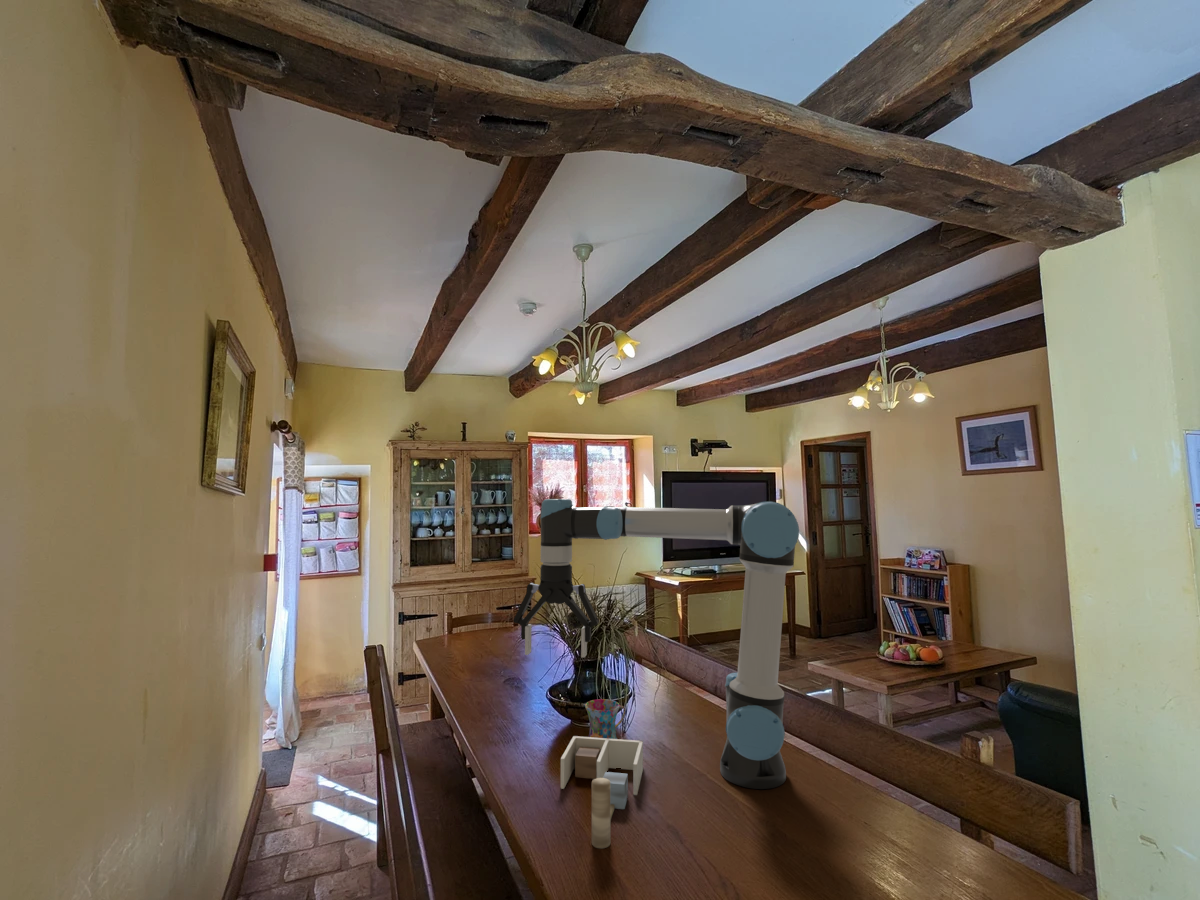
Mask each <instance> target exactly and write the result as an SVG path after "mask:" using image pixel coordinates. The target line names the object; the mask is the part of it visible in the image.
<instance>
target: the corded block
mask: <svg viewBox="0 0 1200 900" xmlns="http://www.w3.org/2000/svg"><path fill="white" fill-rule="evenodd" d="M628 779H629V775H628V773H621V772H612V771H608V772H605V774H604V776H603V778H596V779H592V781H591V845H592V846H593V847H594V848H595V849H605V848H606V849H607V848H608V847H610V846H611V838H612V837H611V833H612V832H611V821H612V817H613V814H614V811H615V809H618V810H625V809H626V806H627V802H628V799H627V798H629V792H628V791H629V780H628Z"/></svg>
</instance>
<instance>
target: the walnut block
mask: <svg viewBox="0 0 1200 900" xmlns="http://www.w3.org/2000/svg"><path fill="white" fill-rule="evenodd" d="M599 754H600V748H591V747H580V748H579V750H578V751H577V753H576V755H575V768H574V770H575V771H574V774H575V775H574V777H575V778H582V779H592V780H594V779H596V778H597V759H598V757H599Z"/></svg>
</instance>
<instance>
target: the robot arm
mask: <svg viewBox="0 0 1200 900" xmlns="http://www.w3.org/2000/svg"><path fill="white" fill-rule="evenodd" d="M540 509H541V510H540V517H539V519H540V562H541V563H542V564H541V565H540V576H539V577H540V582H539V584H537V583H536V584H535V583H534V582H530V583H528V584H527V586H526V592H525V593H526V594H525V595H524V597H523V600H521V603H520V605H519V608H518V610H516V611H517V612H516V614H515V616H514V618H513V622H514V623H515V624H519V625H520V629H521V630H520V634H521V635H520V638H521V640H524V656H529V655H530V654H531V653H532V623H530V622H531V620H532V619H534V617H535V615H536V614H537V613H538V611H540V609H541V608H542V607H543V606H544V604H546V602H547V603H548V604H550V605H551V604H558V605H559V604H560V605H562V604H565V605H566V606H567V607H569V610H570V611H571V612H572V613H573V614H574V615H575V617H576V618H577V620H579V622H580V623H581V624H582V628H581V630H580V633H581V634H580V638H581V639H580V640H581V643H580V645H581V647H580V648H581V650H580V654H581V655H580V657H581V658H586V656H587V654H588V653H587V652H588V643H590V642H591V640H592V627H595V626H598V624H599V622H600V621H599V618H598V616H597V614H596V612H595V609H594V607H593V606H592V603H591V601H590V599H589V596H588V595H587V592H586V591H587V590H586V584H584V583H581V584H578V585H576V584H575V585H574V584H573V565H572V564H570V563H572V561H573V539H575V540H576V539H587V540H588V539H589V540H605V541H607V540H612V539H613V540H618V539H619V538H621V537H632V538H657V539H658V538H660V539H661V538H662V539H663V538H664V539H683V540H685V539H689V540H707V541H708V540H715V541H727V542H728V543H729V544H730V545H739V547H740V548H739V561H740V563H741V564H742V565H743V566H744V568H745V571H744V572H745V575H744V584H743V585H744V586H743V597H742V611H741V624H740V635H739V636H740V638H739V647H738V648H739V649H738V661H737V672H731V673H729V674H727V675H726V677H725V684H724V687H725V701H726V703H725V704H726V706H725V707H726V710H725V711H726V721H725V722H726V724H725V733H726V741H725V744H724V746H723V750H722V753H721V757H720V762H719V771H720V774H721V776H722V777H723V778H724V779H725V780H726V781H728V782H730V783H732V784H733V785H737V786H739V787H743V788H747V789H754V790H767V789H768V790H769V789H774V788H778V787H780V786H781V785H783V784H784V783H785V781H786V779H787V771H786V765H785V763H784V760H783V756H782V753H781V748H782V747H783V745H784V742H785V741H784V740H785V737H786V736H785V735H786V734H785V727H784V724H783V723H784V722H783V719H784V705H785V691H784V690H783V689H782V687H781V686H780V685H779V684H778V683H779V671H780V669H779V668H780V656H781V644H782V643H781V642H782V629H783V618H784V617H783V616H784V602H785V588H786V574H787V573H788V572H789V571H790V570H791V569H793V568H794V562H795V551H796V545H797V543H798V540H799V538H800V537H799V536H800V527H799V522H798V520H797V517H796V516H795V514H794V513H793V512H792V511H791V510H790V509H789V508H788V507H787V506H785V505H784V504H782V503H779V502H775V501H771V500H770V501H760V502H756V503H754V504H753V503H752V504H745V505H733V504H732V505H729V507H728V508H724V509H723V508H722V509H719V508H715V509H714V508H682V507H681V508H680V507H679V508H678V507H675V508H674V507H641V506H640V507H639V506H638V507H637V506H636V507H635V506H633V507H631V506H628V507H626V506H625V507H624V506H611V505H607V506H589V507H588V506H587V507H586V506H585V507H584V506H583V507H580V506H578V507H577V506H574V505H573V501H572V499H570V498H546V499H544V500H543V501H541V508H540ZM537 591H539V593H540V594H541V597H540V598H539V600H537V602H536V603H535V605H534V606H533V607H532V608H531V609H530V611H529V612H528V613H527V614H526V615H525V613H526V611H527V608H528V606H529V605H530V602H531V601H532V599H533V596H534V594H536V593H537ZM573 592H575V593H576V595H578V597H579V599H580V601H581V603H582V605H583V607H584V610H585V612H586V614H587V615H585V613H584V611H583V610H582V609H581V607H580V606H579V605H578V604H577V603H576V601H575V600H574V598H573V597H572V594H573ZM524 615H525V616H524Z"/></svg>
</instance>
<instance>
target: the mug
mask: <svg viewBox="0 0 1200 900" xmlns="http://www.w3.org/2000/svg"><path fill="white" fill-rule="evenodd" d="M584 707H585V710H586V712H587V716H588V720H589V732H588V733H589V734H588V737H594V738H608V739H618V737H617V735H616V734H617V728H618V726H620V724H621V723H622V722H623V721H624V719H625V716H626V715H627V714H626V713H627V708H626V707H625V706H623V705H620V703H619V702H618V701H615V700H613V699H607V698H606V699H605V698H599V699H592V700H589V701H587V702H586V703H585V705H584ZM619 709H623V713H622V716H621V718H620V720H619V721H618V722H617V723H616V720H617V715H618V712H619Z"/></svg>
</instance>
